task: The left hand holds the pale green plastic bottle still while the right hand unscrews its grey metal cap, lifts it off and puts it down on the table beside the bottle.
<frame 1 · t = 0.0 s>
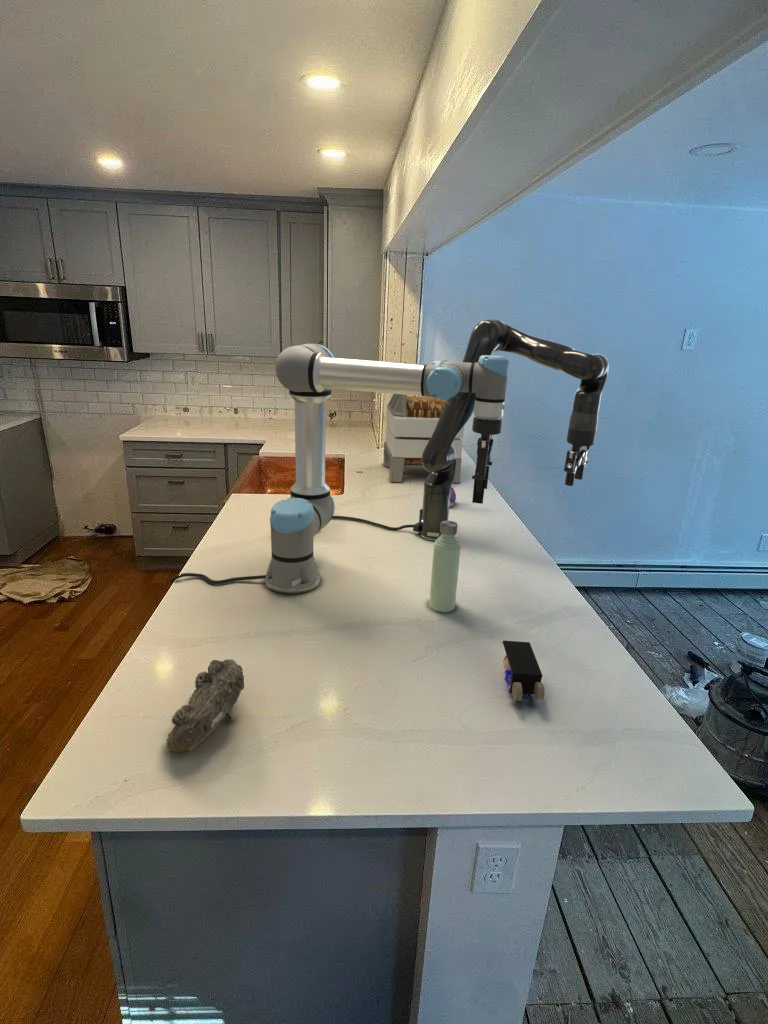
left hand: (479, 495, 154), 28 cm above the counter, tool pointing down, fingers open, 13 cm apart
right hand: (573, 482, 165), 29 cm above the counter, tool pointing down, fingers open, 8 cm apart
toy: (307, 518, 211), on the counter
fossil: (212, 717, 108), on the counter
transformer: (419, 473, 275), on the counter
cap: (449, 524, 145), point 23 cm above the counter, screwed on, not yet turned
bottle: (442, 605, 153), on the counter
figurine: (445, 504, 232), on the counter
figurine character: (519, 688, 120), on the counter
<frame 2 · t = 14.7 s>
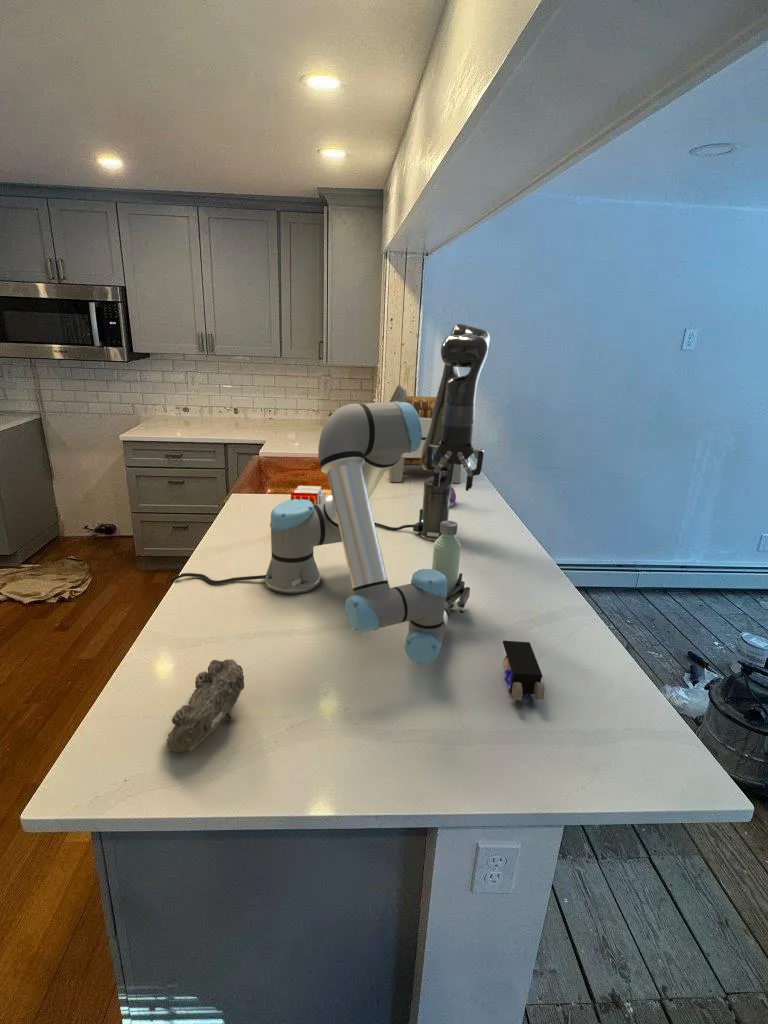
left hand: (446, 575, 155), 7 cm above the counter, tool horizontal, fingers closed on bottle, 7 cm apart
right hand: (452, 488, 141), 33 cm above the counter, tool pointing down, fingers open, 7 cm apart
bottle: (442, 605, 153), on the counter, touching left hand
everything else where it was.
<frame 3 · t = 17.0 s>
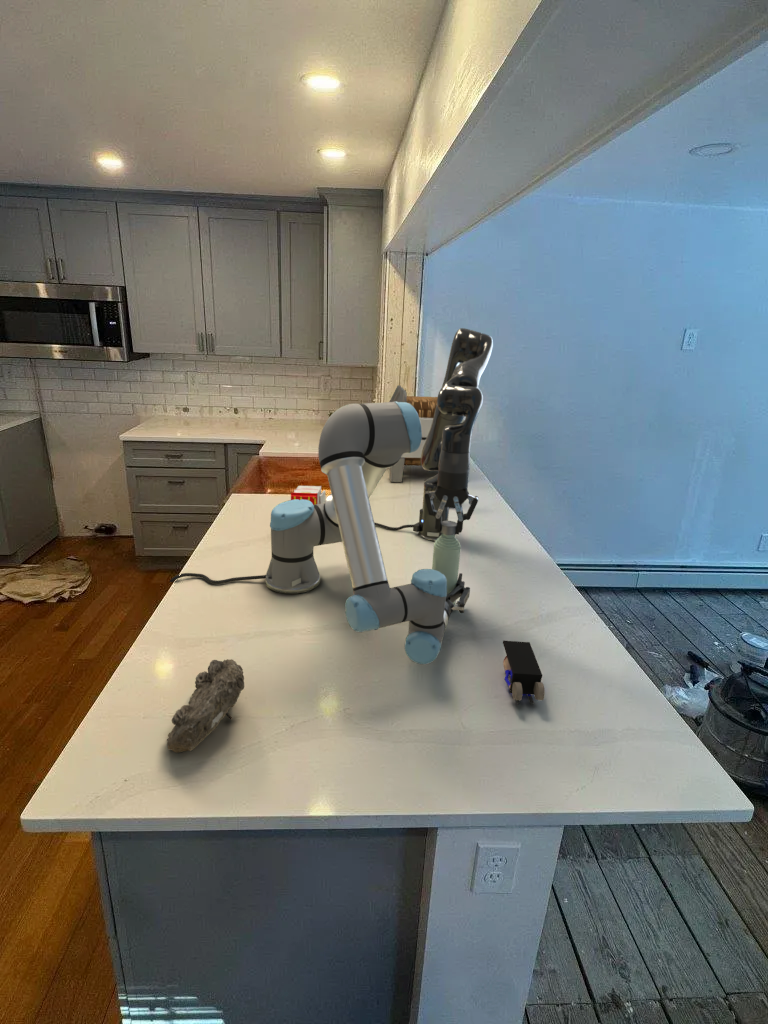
left hand: (446, 575, 155), 7 cm above the counter, tool horizontal, fingers closed on bottle, 7 cm apart
right hand: (448, 532, 145), 21 cm above the counter, tool pointing down, fingers closed on cap, 4 cm apart
cap: (449, 524, 145), point 23 cm above the counter, screwed on, not yet turned, touching right hand
bottle: (441, 605, 153), on the counter, touching left hand
everything else where it was.
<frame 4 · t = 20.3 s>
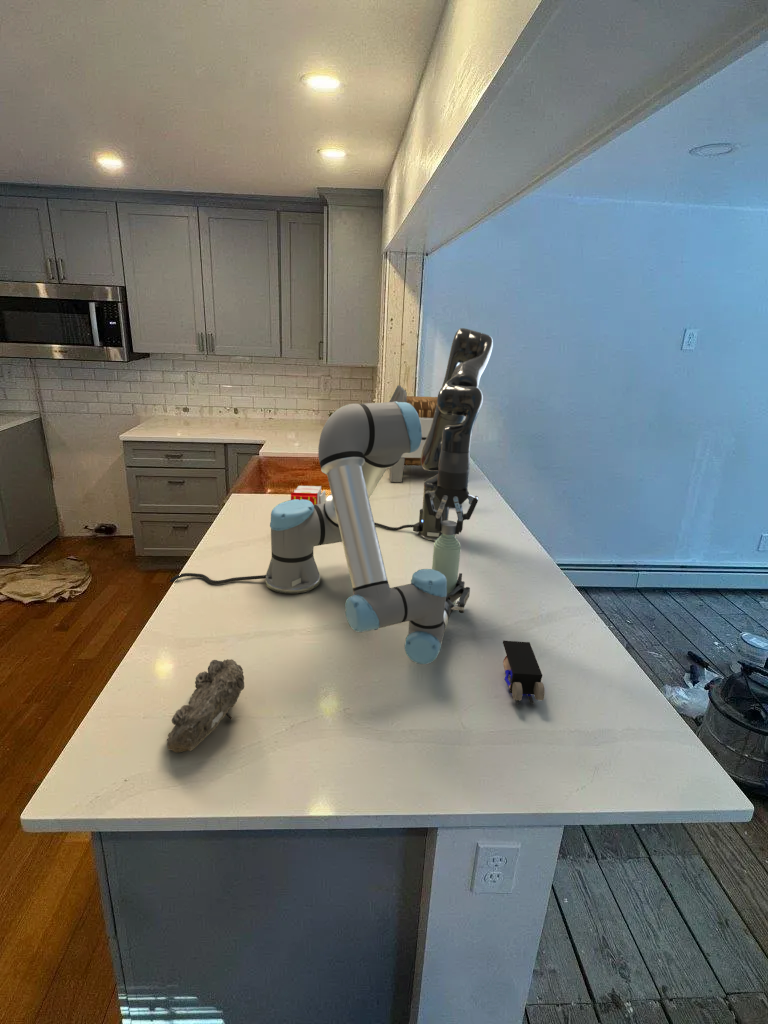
left hand: (446, 575, 155), 7 cm above the counter, tool horizontal, fingers closed on bottle, 7 cm apart
right hand: (448, 531, 145), 21 cm above the counter, tool pointing down, fingers closed on cap, 4 cm apart
cap: (449, 524, 145), point 23 cm above the counter, turned 69° so far, risen 0.1 cm, still on its thread, touching right hand
bottle: (441, 605, 153), on the counter, touching left hand
everything else where it was.
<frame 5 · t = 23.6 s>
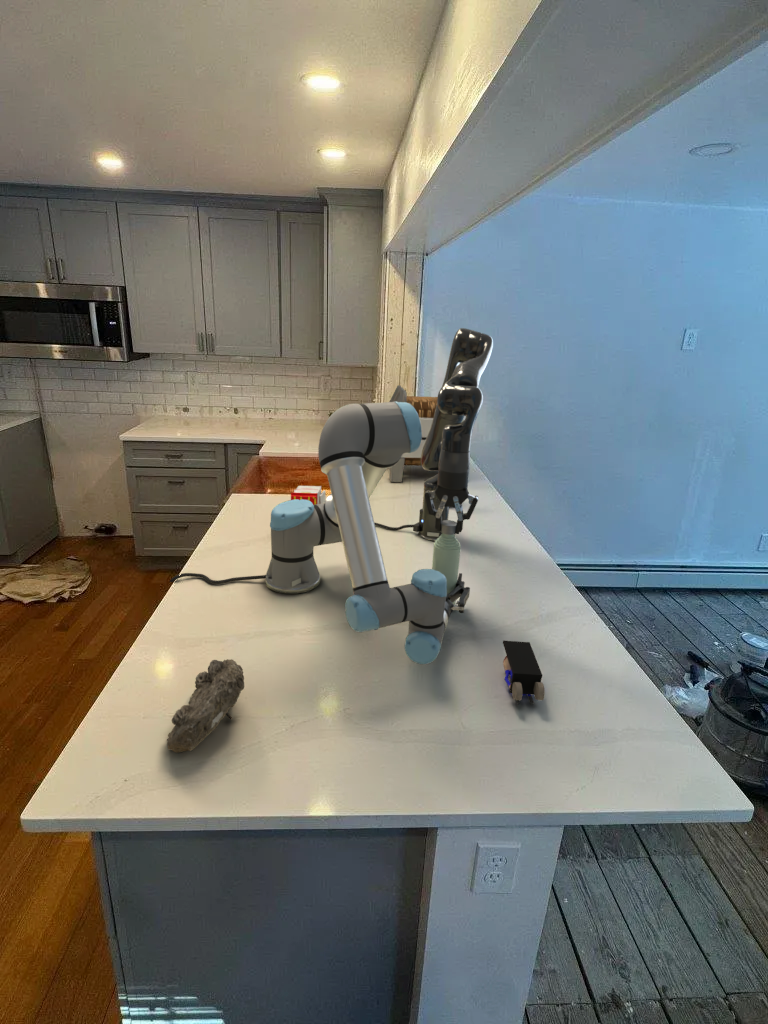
left hand: (446, 575, 155), 7 cm above the counter, tool horizontal, fingers closed on bottle, 7 cm apart
right hand: (448, 531, 145), 21 cm above the counter, tool pointing down, fingers closed on cap, 4 cm apart
cap: (449, 524, 145), point 24 cm above the counter, turned 138° so far, risen 0.1 cm, still on its thread, touching right hand
bottle: (441, 605, 153), on the counter, touching left hand
everything else where it was.
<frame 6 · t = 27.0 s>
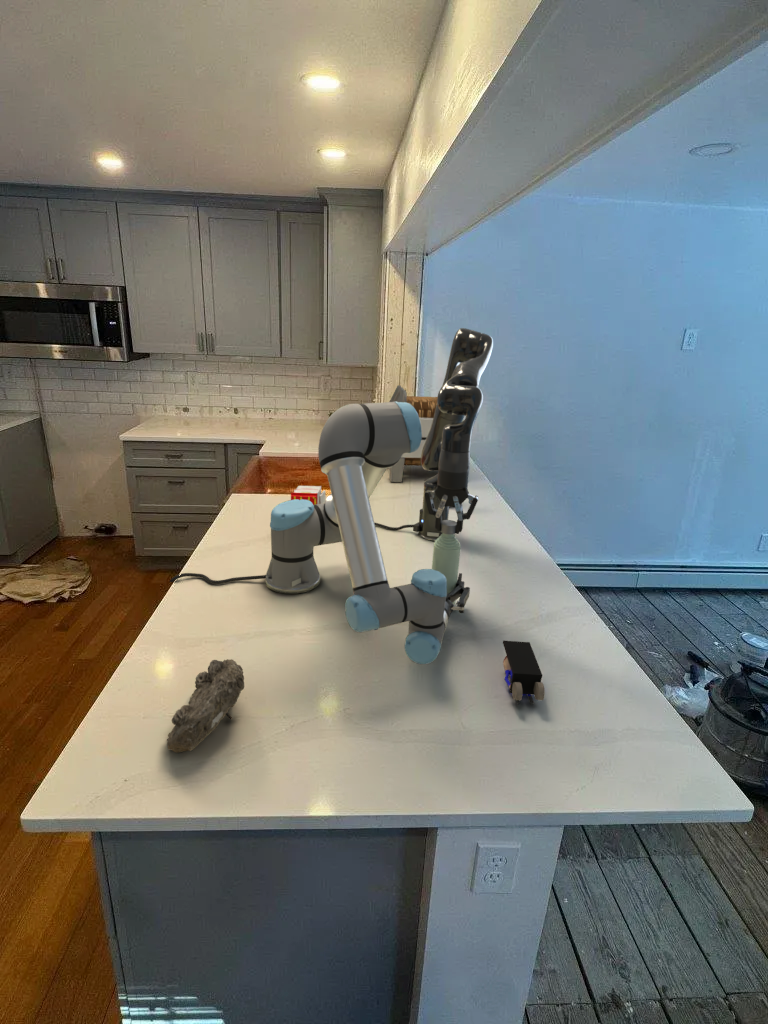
left hand: (446, 575, 155), 7 cm above the counter, tool horizontal, fingers closed on bottle, 7 cm apart
right hand: (448, 531, 145), 22 cm above the counter, tool pointing down, fingers closed on cap, 4 cm apart
cap: (449, 523, 145), point 24 cm above the counter, turned 207° so far, risen 0.2 cm, still on its thread, touching right hand
bottle: (441, 605, 153), on the counter, touching left hand
everything else where it was.
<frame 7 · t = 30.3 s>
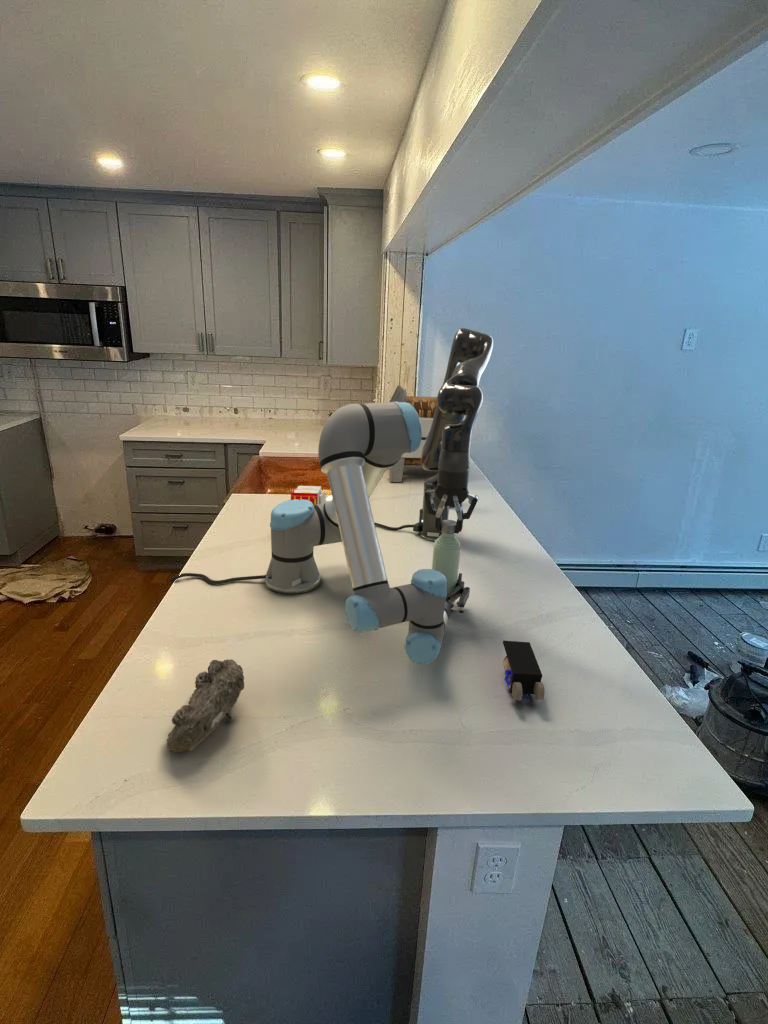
left hand: (446, 575, 155), 7 cm above the counter, tool horizontal, fingers closed on bottle, 7 cm apart
right hand: (448, 531, 145), 22 cm above the counter, tool pointing down, fingers closed on cap, 4 cm apart
cap: (449, 523, 145), point 24 cm above the counter, turned 276° so far, risen 0.2 cm, still on its thread, touching right hand
bottle: (441, 605, 153), on the counter, touching left hand
everything else where it was.
when the right hand's fingers open (1 cm above the counter, at t = 39.9 s): cap stays where it is, point 2 cm above the counter.
when the left hand's fingers open (7 cm above the counter, at t = 41.0 s): bottle stays where it is, on the counter.
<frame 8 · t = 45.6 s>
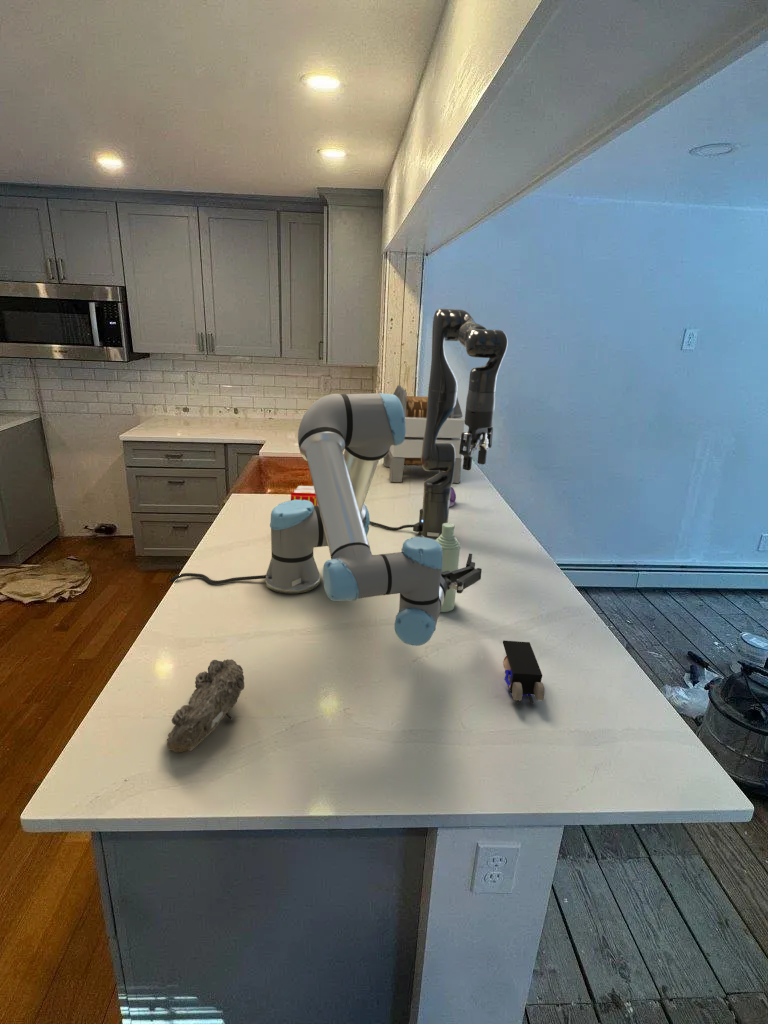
left hand: (442, 554, 138), 19 cm above the counter, tool horizontal, fingers open, 13 cm apart
right hand: (474, 466, 156), 35 cm above the counter, tool pointing down, fingers open, 8 cm apart
cap: (463, 573, 167), point 2 cm above the counter, off its thread
bottle: (441, 605, 153), on the counter
everything else where it was.
at the end: cap came off its thread; cap point 2.0 cm above the counter; the left hand is holding nothing; the right hand is holding nothing; bottle tilted 0°; bottle moved 0.2 cm from its start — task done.
